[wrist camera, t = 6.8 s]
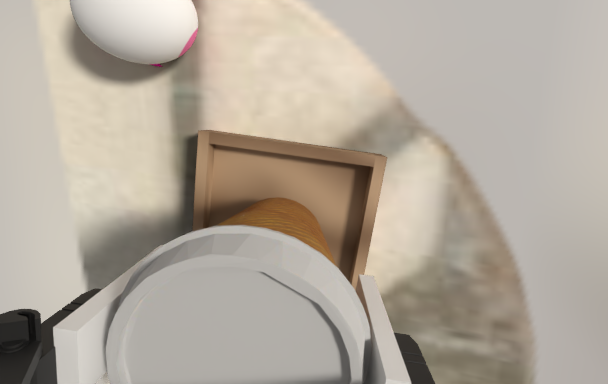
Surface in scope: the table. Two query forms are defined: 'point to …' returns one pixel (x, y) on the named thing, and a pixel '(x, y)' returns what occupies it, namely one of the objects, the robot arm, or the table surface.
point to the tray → (292, 187)
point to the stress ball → (138, 27)
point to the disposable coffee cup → (241, 307)
